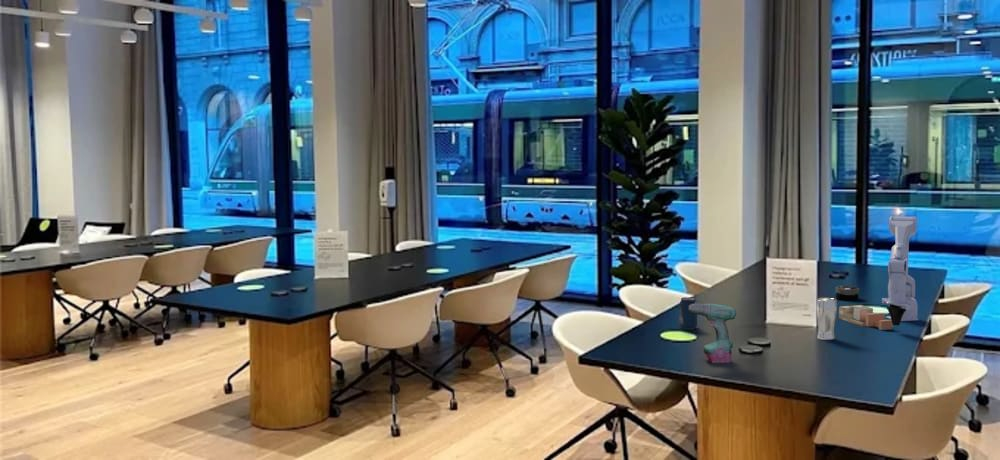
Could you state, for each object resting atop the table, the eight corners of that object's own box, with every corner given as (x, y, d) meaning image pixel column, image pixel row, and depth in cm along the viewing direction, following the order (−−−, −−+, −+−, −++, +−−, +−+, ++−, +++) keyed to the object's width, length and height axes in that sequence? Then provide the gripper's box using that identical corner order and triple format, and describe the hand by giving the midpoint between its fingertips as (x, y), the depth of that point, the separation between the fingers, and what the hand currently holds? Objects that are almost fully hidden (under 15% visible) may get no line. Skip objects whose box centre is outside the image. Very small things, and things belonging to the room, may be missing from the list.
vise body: (861, 316, 337) (861, 305, 337) (885, 324, 322) (885, 312, 322) (838, 318, 335) (839, 306, 335) (862, 326, 320) (862, 314, 320)
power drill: (685, 358, 277) (685, 302, 275) (731, 356, 278) (731, 300, 276) (692, 364, 269) (692, 306, 267) (739, 362, 271) (739, 304, 269)
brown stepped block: (882, 324, 322) (882, 312, 321) (895, 328, 314) (895, 316, 314) (865, 325, 320) (865, 313, 320) (878, 330, 313) (878, 317, 312)
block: (866, 320, 330) (866, 306, 329) (872, 322, 326) (873, 308, 325) (853, 321, 329) (853, 307, 328) (859, 323, 325) (859, 309, 324)
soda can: (700, 327, 323) (700, 298, 322) (691, 330, 318) (691, 300, 317) (685, 325, 328) (685, 296, 327) (676, 328, 323) (676, 298, 322)
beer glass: (835, 336, 304) (836, 298, 302) (836, 341, 297) (837, 301, 296) (815, 335, 306) (816, 297, 305) (816, 339, 300) (817, 300, 298)
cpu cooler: (860, 289, 369) (836, 288, 372) (859, 301, 370) (836, 300, 373) (857, 285, 379) (834, 285, 382) (857, 297, 380) (834, 296, 383)
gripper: (875, 287, 313) (874, 321, 314) (900, 293, 299) (899, 329, 300) (891, 286, 314) (890, 320, 316) (917, 293, 300) (916, 328, 302)
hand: (895, 324), depth 308 cm, fingers closed
